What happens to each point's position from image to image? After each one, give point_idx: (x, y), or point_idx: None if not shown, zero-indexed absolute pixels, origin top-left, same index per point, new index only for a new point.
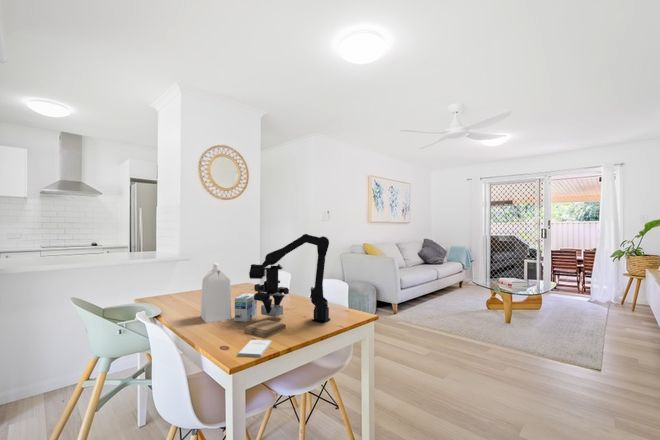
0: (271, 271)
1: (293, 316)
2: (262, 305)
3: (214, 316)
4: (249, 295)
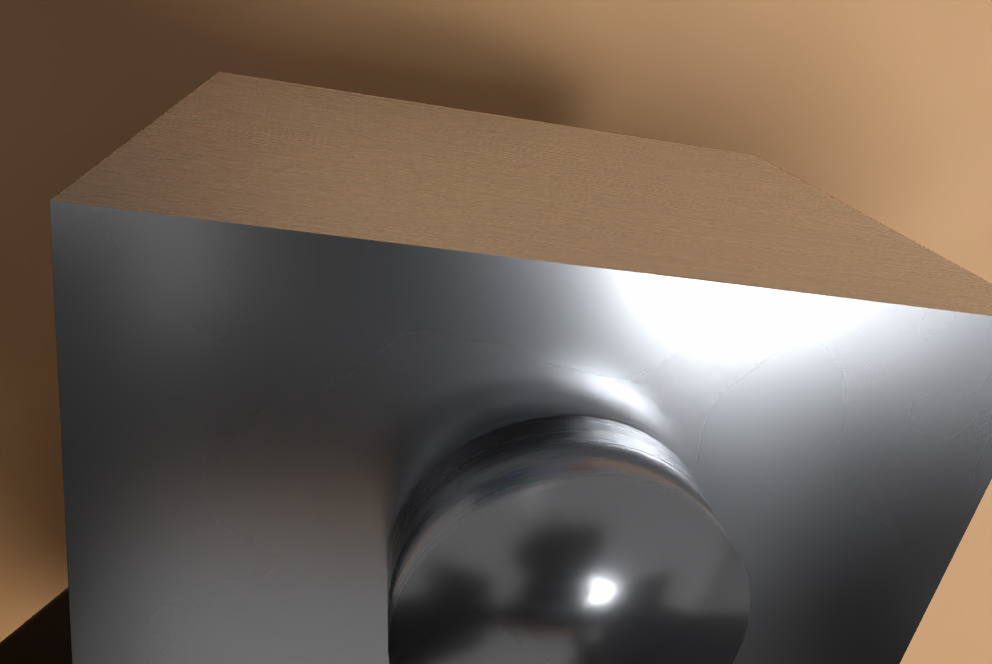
0: None
1: (915, 658)
2: (215, 254)
3: None
4: None
